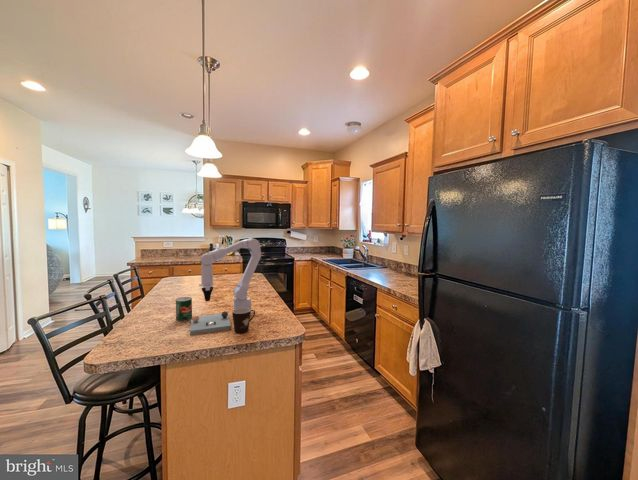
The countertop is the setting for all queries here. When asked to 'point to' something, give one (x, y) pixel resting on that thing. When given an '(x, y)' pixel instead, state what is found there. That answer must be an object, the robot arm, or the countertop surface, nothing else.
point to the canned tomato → (183, 309)
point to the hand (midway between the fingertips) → (207, 300)
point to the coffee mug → (242, 320)
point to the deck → (219, 325)
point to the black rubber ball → (224, 314)
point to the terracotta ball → (195, 318)
